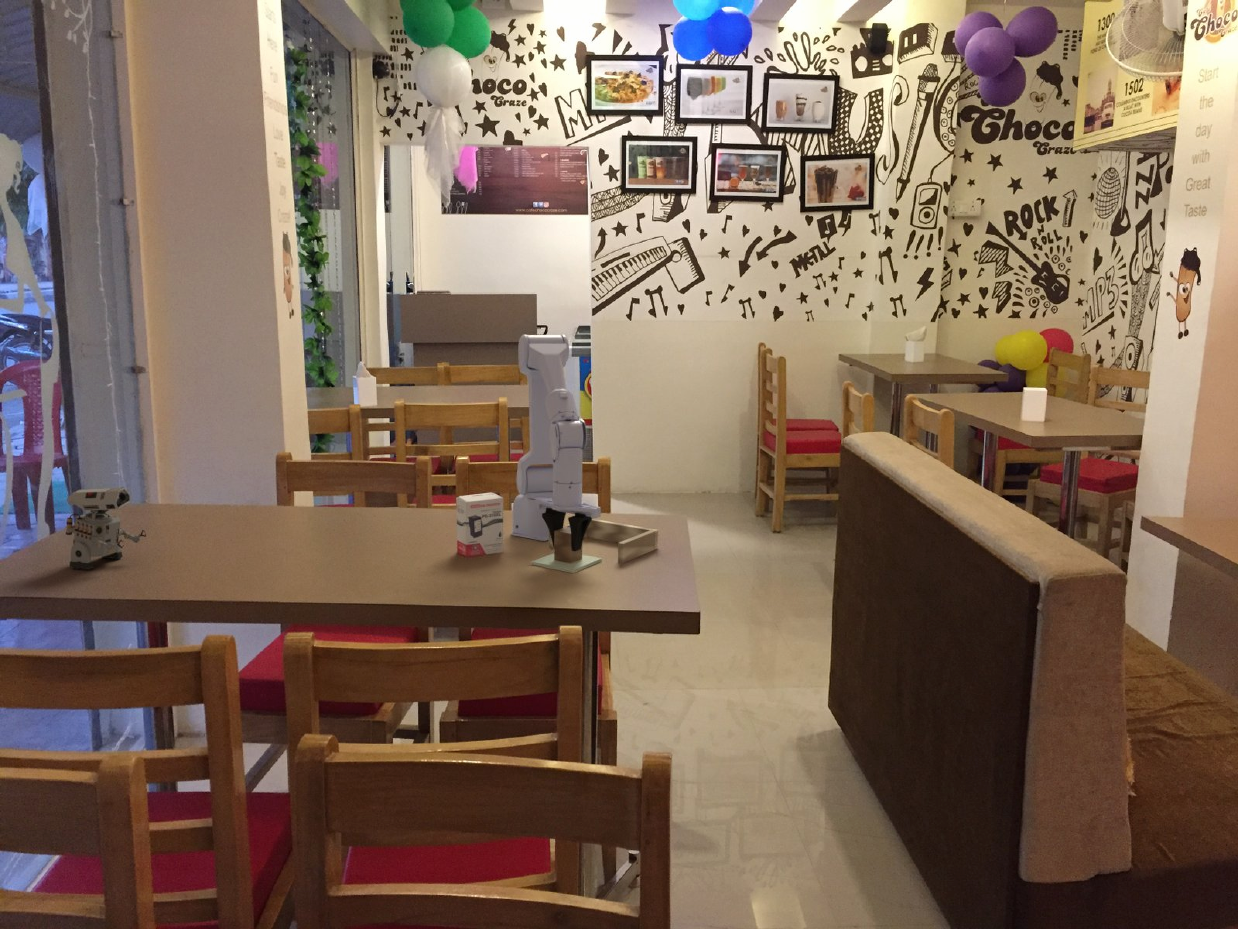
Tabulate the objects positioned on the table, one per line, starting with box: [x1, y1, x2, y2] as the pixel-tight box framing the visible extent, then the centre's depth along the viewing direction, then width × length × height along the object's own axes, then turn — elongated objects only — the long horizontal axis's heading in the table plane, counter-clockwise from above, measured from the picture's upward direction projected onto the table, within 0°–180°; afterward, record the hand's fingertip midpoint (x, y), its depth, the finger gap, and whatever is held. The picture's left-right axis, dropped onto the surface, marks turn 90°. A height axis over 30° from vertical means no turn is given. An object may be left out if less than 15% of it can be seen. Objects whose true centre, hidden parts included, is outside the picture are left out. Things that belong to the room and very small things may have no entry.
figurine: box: [65, 487, 147, 571], centre depth 192 cm, size 9×12×15 cm
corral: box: [548, 518, 659, 564], centre depth 210 cm, size 18×14×4 cm
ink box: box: [455, 492, 504, 558], centre depth 205 cm, size 8×5×12 cm, turn 123°
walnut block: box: [553, 527, 583, 563], centre depth 199 cm, size 4×4×6 cm
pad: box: [531, 552, 603, 574], centre depth 200 cm, size 10×10×1 cm
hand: (566, 548), depth 199 cm, fingers closed on walnut block, 4 cm apart
